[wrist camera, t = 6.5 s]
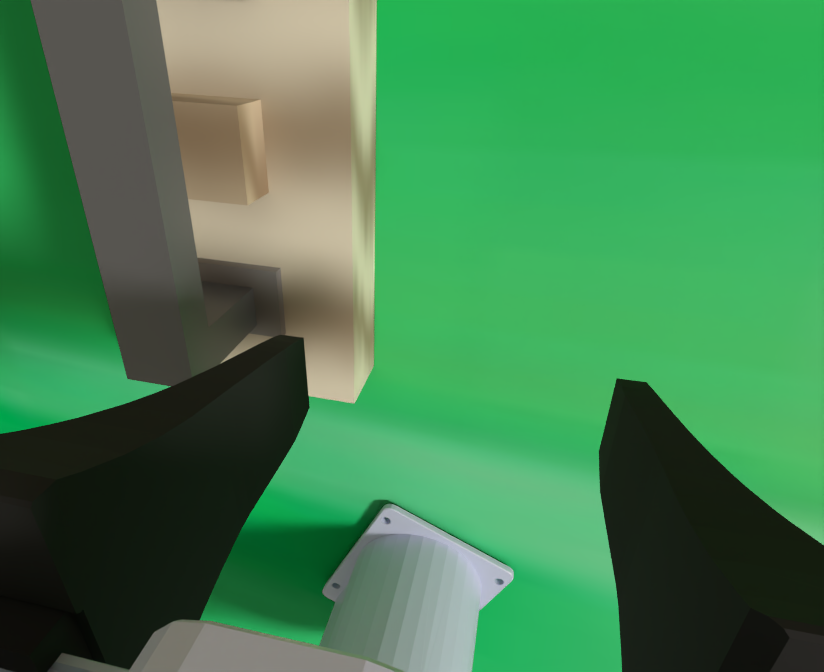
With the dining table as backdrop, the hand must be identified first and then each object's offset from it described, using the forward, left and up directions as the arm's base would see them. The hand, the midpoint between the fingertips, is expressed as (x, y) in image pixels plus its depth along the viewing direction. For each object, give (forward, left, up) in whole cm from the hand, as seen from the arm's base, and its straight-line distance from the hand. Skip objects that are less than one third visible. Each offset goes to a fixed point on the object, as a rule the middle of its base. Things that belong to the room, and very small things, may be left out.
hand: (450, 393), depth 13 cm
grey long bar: (-1, +10, -7) cm, 12 cm away
